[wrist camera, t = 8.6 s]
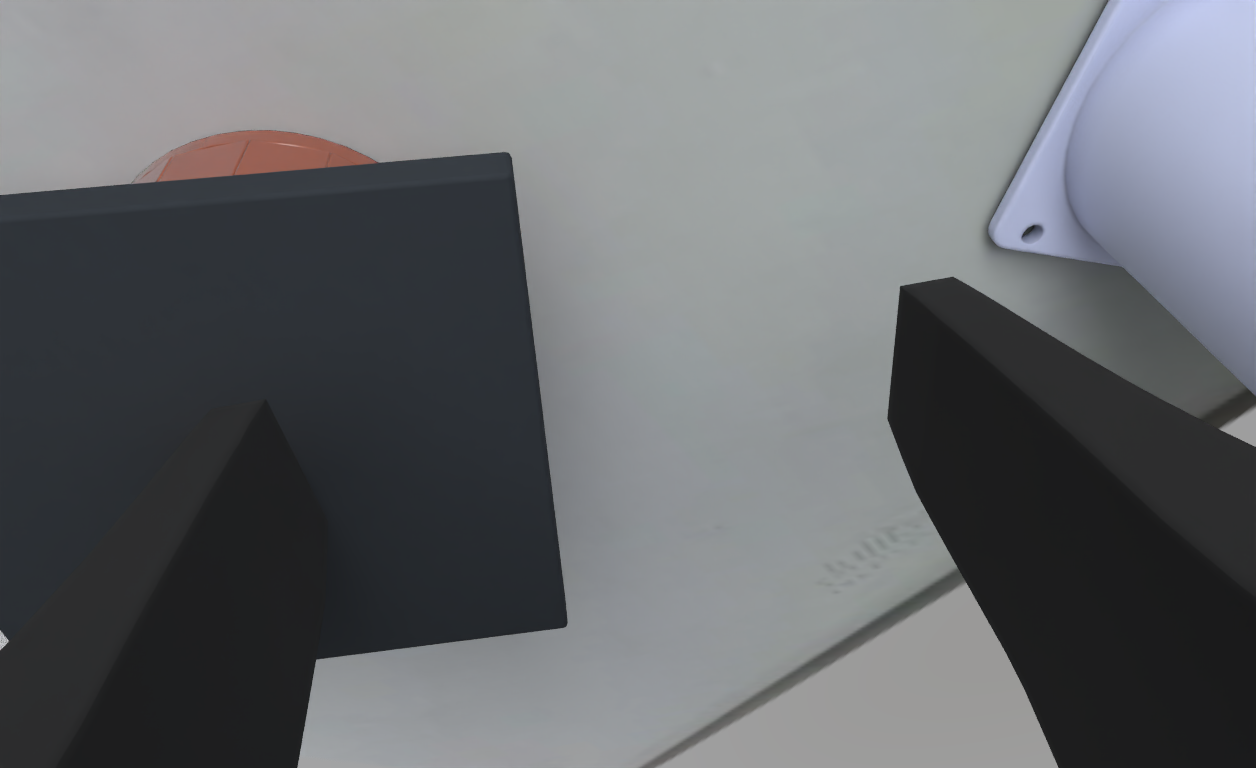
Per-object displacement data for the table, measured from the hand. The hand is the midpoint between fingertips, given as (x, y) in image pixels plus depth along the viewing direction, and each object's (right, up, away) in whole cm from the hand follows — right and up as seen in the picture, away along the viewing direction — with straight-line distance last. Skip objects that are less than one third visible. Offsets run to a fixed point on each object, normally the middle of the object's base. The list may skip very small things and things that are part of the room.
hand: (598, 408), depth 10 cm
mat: (-7, -1, +6) cm, 9 cm away
